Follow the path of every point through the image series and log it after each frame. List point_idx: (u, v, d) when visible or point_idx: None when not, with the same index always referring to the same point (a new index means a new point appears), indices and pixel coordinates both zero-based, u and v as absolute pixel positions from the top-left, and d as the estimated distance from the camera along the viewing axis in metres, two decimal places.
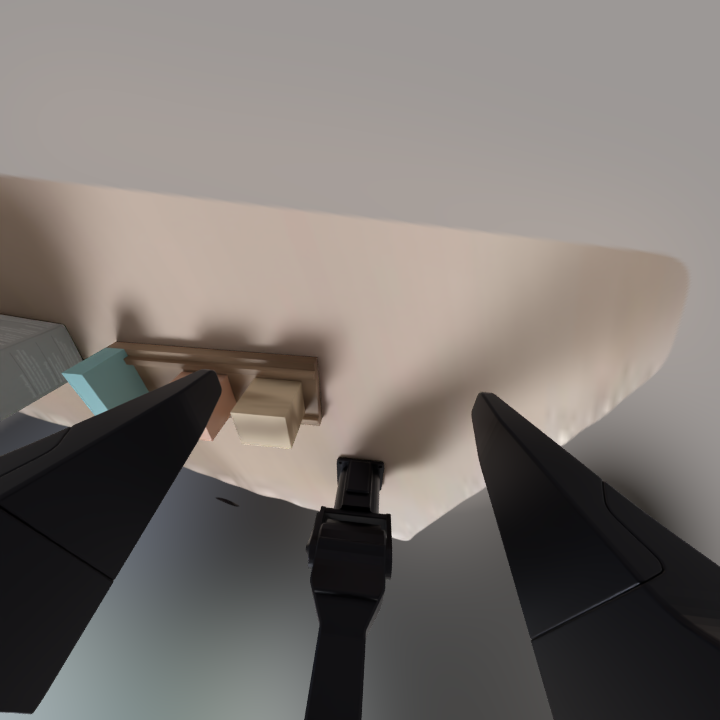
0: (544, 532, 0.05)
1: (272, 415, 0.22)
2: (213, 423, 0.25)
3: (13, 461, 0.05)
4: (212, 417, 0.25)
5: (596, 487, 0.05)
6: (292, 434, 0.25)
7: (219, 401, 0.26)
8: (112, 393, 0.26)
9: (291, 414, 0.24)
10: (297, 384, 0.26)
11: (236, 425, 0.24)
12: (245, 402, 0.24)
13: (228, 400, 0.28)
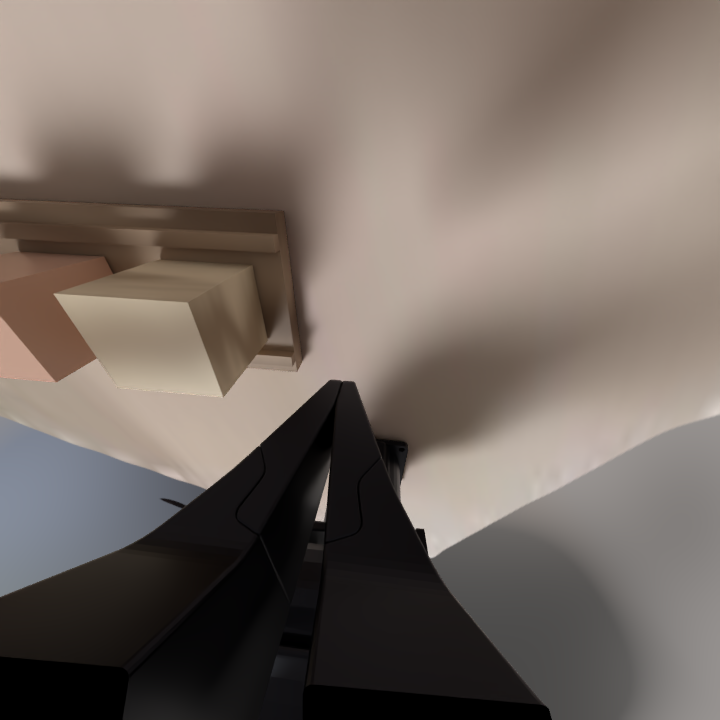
0: None
1: (157, 299, 0.09)
2: (57, 343, 0.12)
3: (239, 486, 0.05)
4: (53, 328, 0.11)
5: (368, 464, 0.05)
6: (226, 365, 0.11)
7: None
8: None
9: (216, 313, 0.10)
10: (242, 267, 0.12)
11: (85, 335, 0.10)
12: (107, 282, 0.10)
13: None
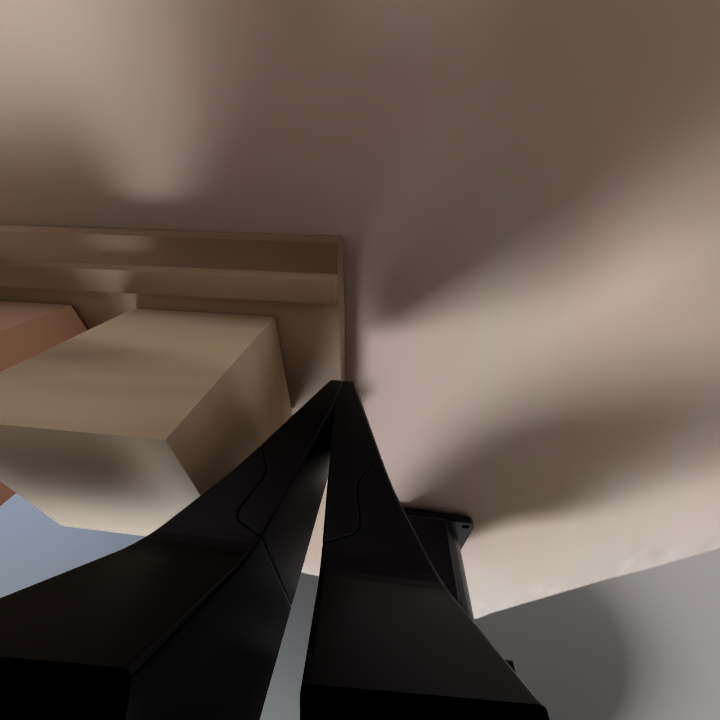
0: None
1: (105, 430, 0.04)
2: None
3: (240, 487, 0.05)
4: None
5: (367, 463, 0.05)
6: None
7: None
8: None
9: (221, 423, 0.06)
10: (260, 322, 0.08)
11: None
12: (32, 372, 0.06)
13: None
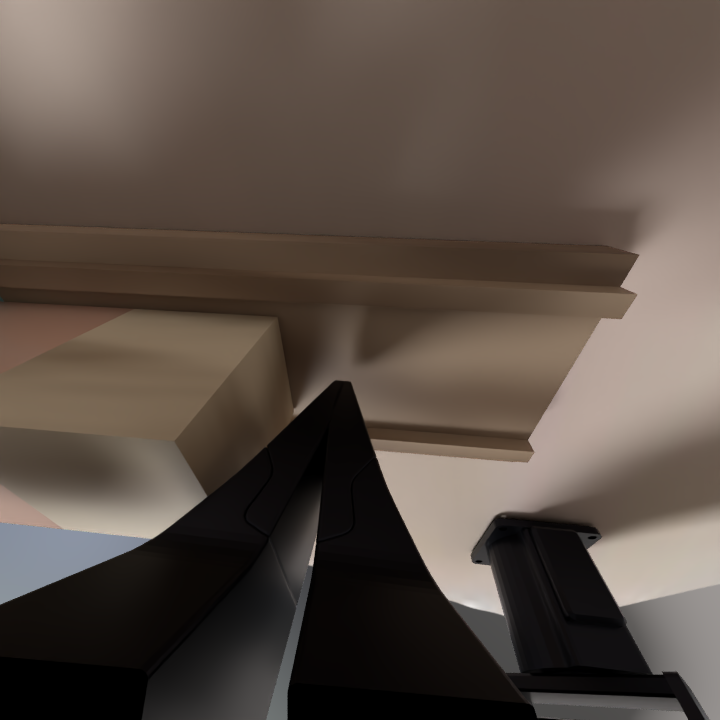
0: None
1: (112, 432, 0.04)
2: None
3: (247, 487, 0.05)
4: None
5: (362, 463, 0.05)
6: None
7: None
8: None
9: (227, 424, 0.06)
10: (264, 323, 0.08)
11: None
12: (33, 373, 0.06)
13: None
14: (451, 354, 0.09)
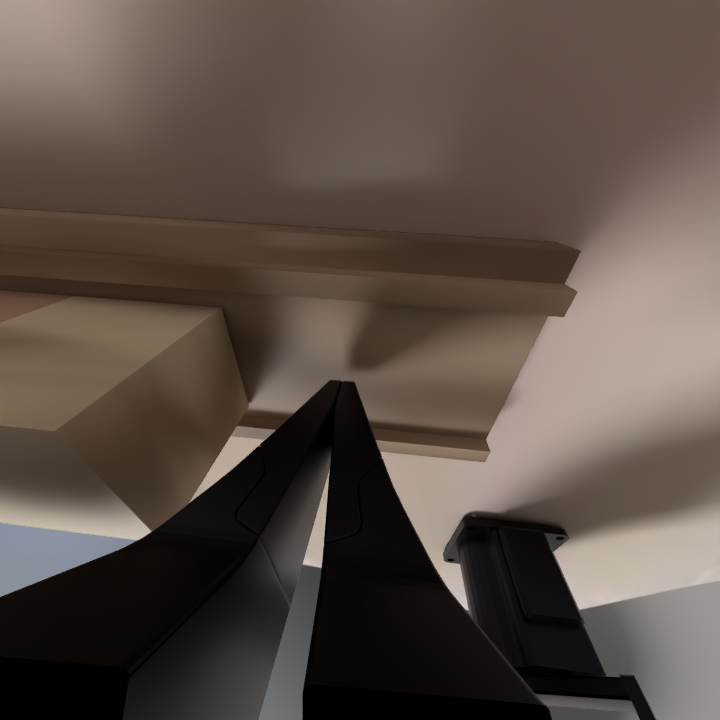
0: None
1: None
2: None
3: (239, 486, 0.05)
4: None
5: (367, 464, 0.05)
6: (168, 488, 0.07)
7: None
8: None
9: (142, 416, 0.06)
10: (204, 313, 0.08)
11: None
12: None
13: None
14: (401, 350, 0.09)
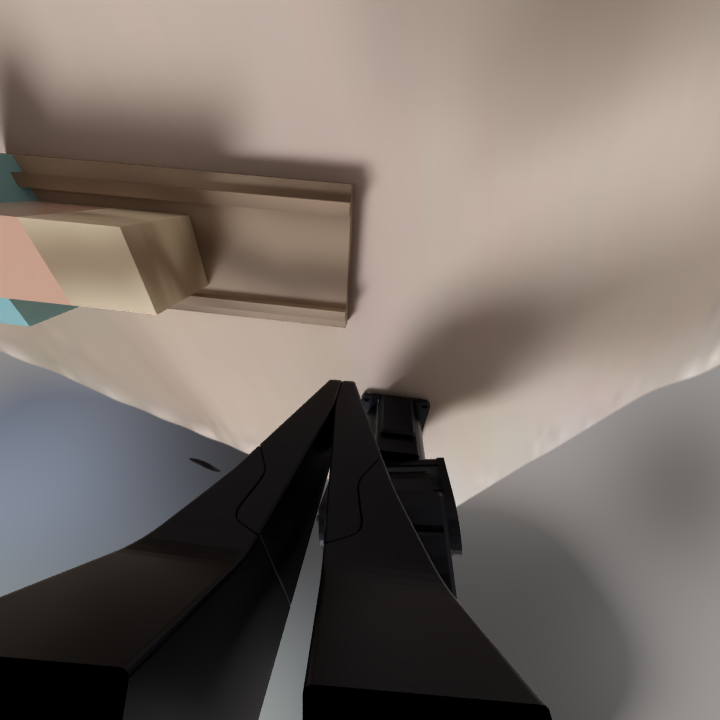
0: None
1: (96, 224, 0.12)
2: None
3: (239, 486, 0.05)
4: None
5: (368, 463, 0.05)
6: (159, 289, 0.14)
7: None
8: None
9: (149, 244, 0.13)
10: (179, 215, 0.15)
11: (43, 255, 0.13)
12: (62, 215, 0.13)
13: None
14: (285, 243, 0.16)
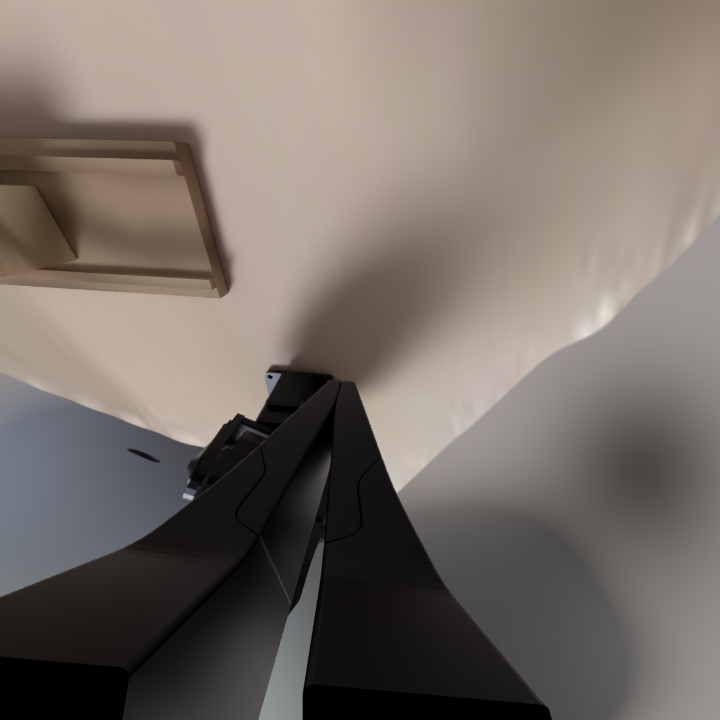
0: None
1: None
2: None
3: (239, 486, 0.05)
4: None
5: (367, 464, 0.05)
6: None
7: None
8: None
9: None
10: (22, 185, 0.16)
11: None
12: None
13: None
14: (133, 210, 0.16)
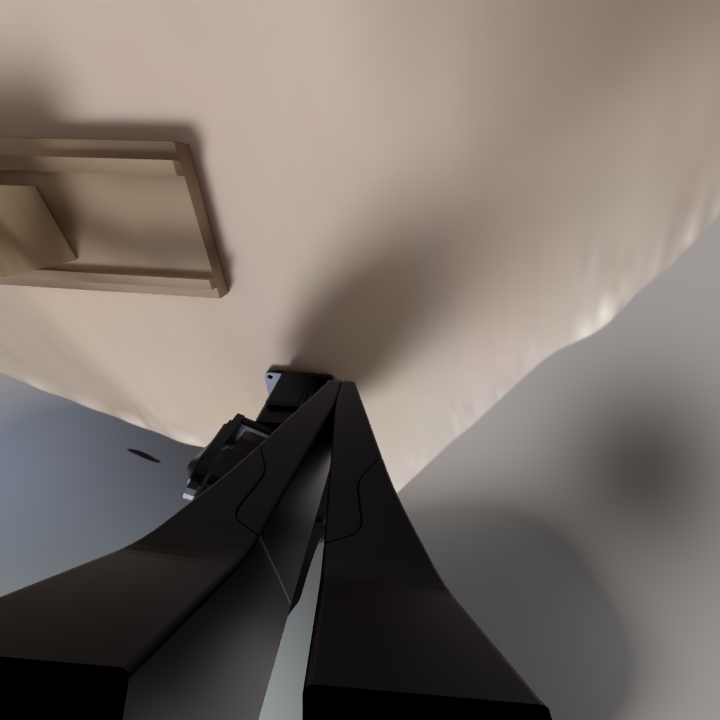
0: None
1: None
2: None
3: (239, 486, 0.05)
4: None
5: (368, 464, 0.05)
6: None
7: None
8: None
9: None
10: (21, 185, 0.16)
11: None
12: None
13: None
14: (133, 210, 0.16)
